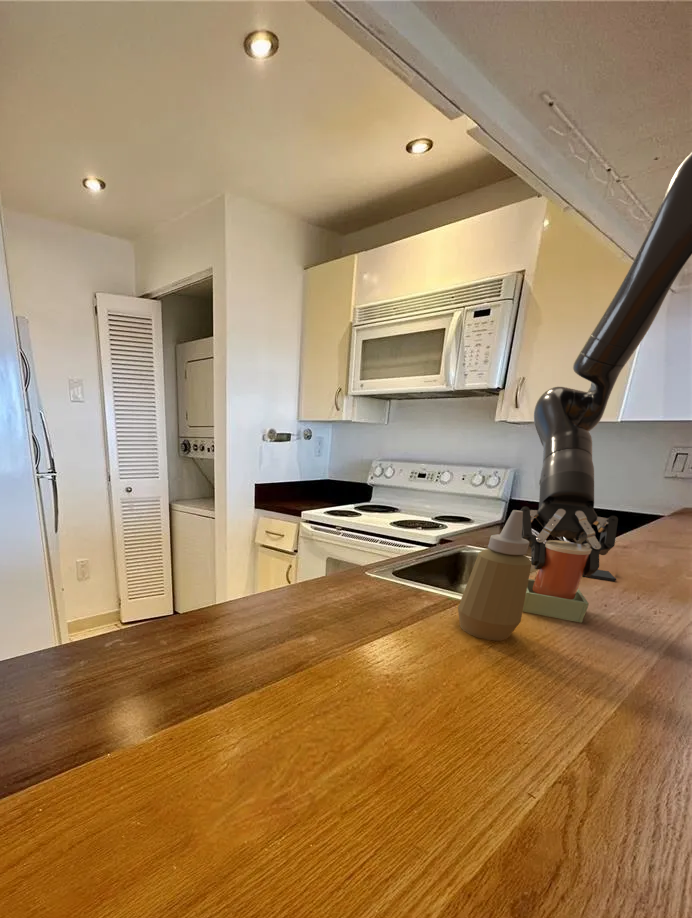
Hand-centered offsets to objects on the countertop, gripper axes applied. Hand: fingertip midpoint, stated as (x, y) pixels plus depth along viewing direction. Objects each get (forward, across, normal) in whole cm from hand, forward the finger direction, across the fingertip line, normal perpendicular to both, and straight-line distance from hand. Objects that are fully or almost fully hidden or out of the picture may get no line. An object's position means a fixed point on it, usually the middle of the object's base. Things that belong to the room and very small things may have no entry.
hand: (564, 570), depth 73 cm
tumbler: (+2, 0, +4) cm, 5 cm away
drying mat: (-17, +15, +29) cm, 37 cm away
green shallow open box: (+4, 0, +7) cm, 8 cm away
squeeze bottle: (+15, -12, -4) cm, 20 cm away
